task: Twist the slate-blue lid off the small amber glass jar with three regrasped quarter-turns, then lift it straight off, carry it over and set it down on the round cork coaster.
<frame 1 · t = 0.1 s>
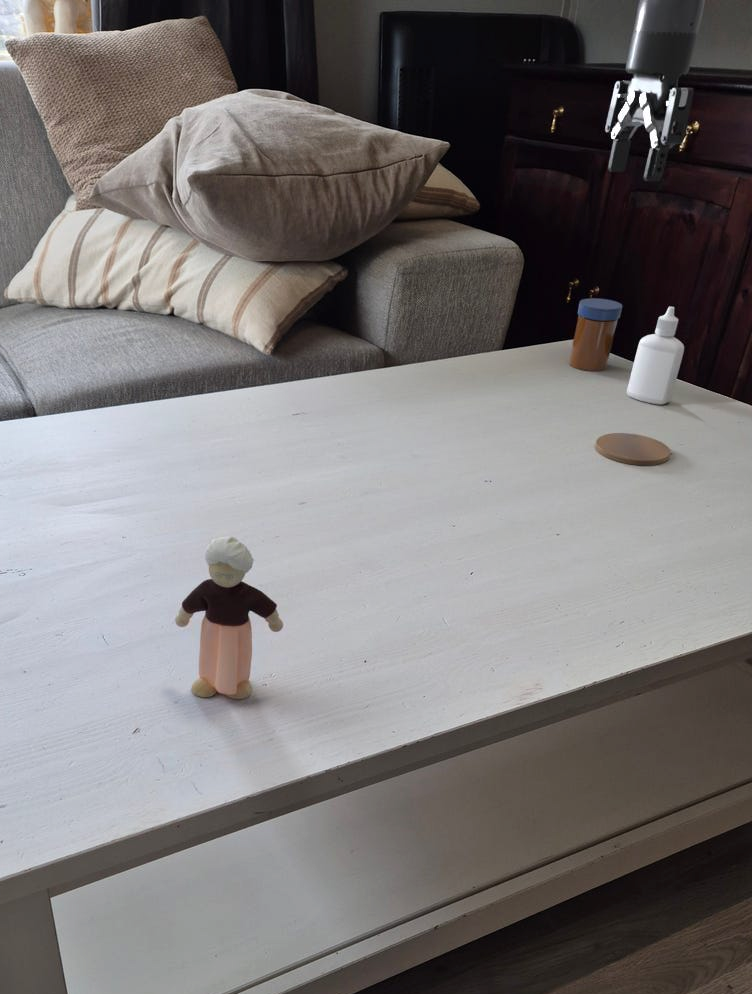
hand: (633, 176, 121), 25 cm above the table, tool pointing down, fingers open, 8 cm apart
eye dropper bottle: (647, 400, 124), on the table
jar: (587, 365, 135), on the table
coaster: (631, 451, 109), on the table
grandmother figurine: (229, 690, 69), on the table
lid: (600, 305, 131), point 8 cm above the table, screwed on, not yet turned
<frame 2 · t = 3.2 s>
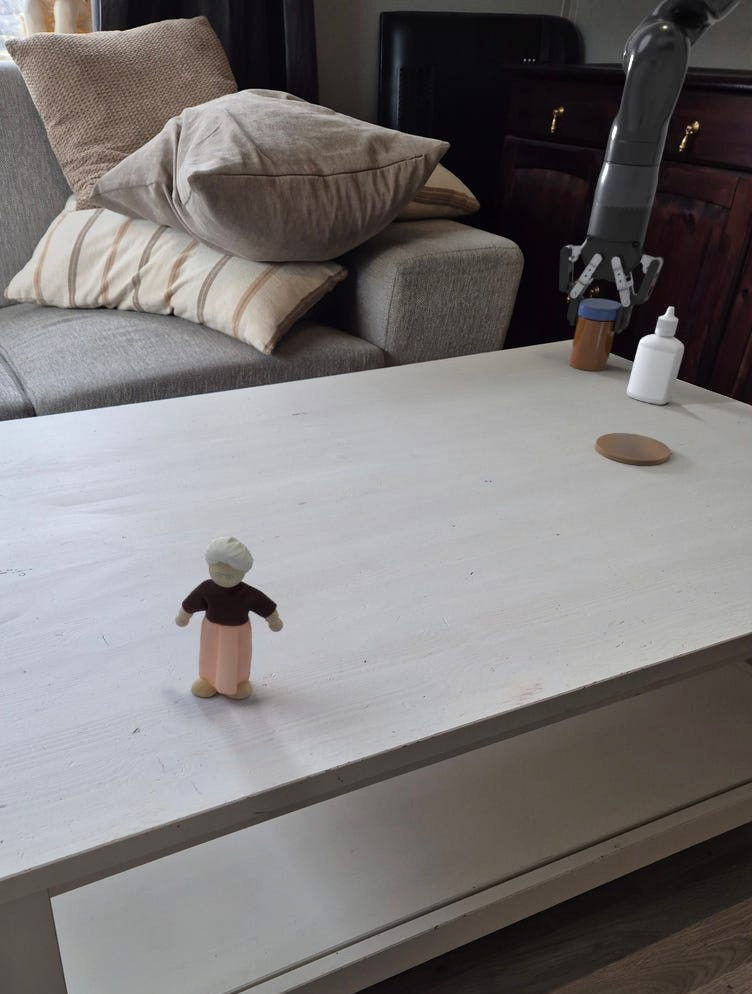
hand: (595, 327, 132), 5 cm above the table, tool pointing down, fingers closed on lid, 5 cm apart
lid: (600, 305, 131), point 8 cm above the table, screwed on, not yet turned, touching gripper
everything else where it was.
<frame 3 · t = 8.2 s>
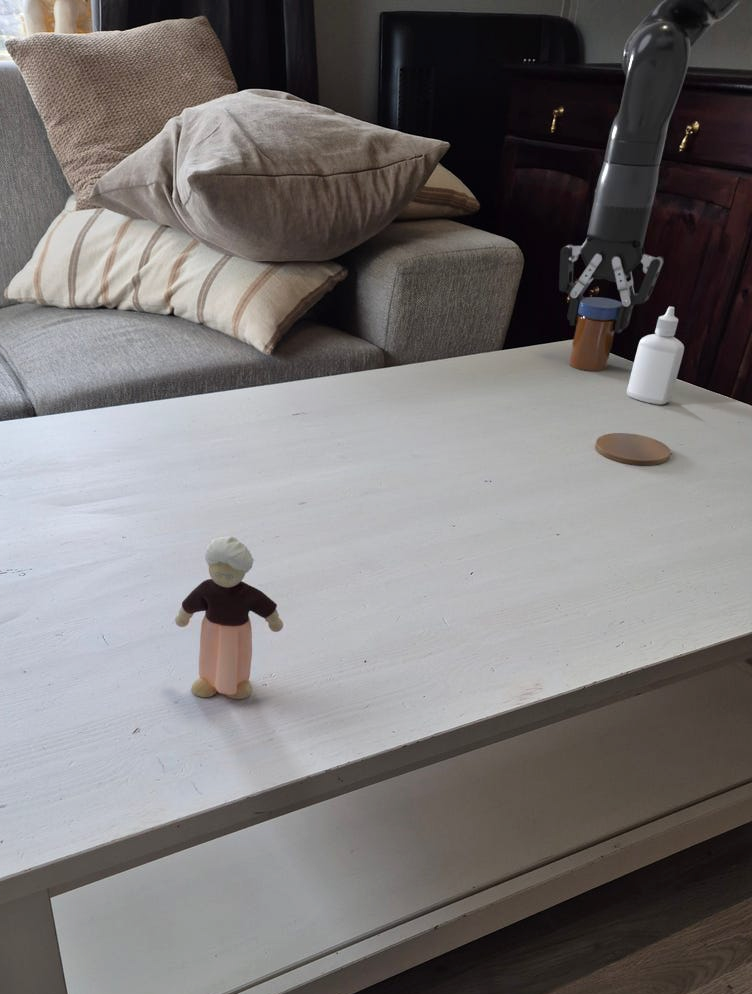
hand: (595, 327, 132), 5 cm above the table, tool pointing down, fingers closed on lid, 6 cm apart
lid: (600, 304, 131), point 9 cm above the table, turned 61° so far, risen 0.2 cm, still on its thread, touching gripper
everything else where it was.
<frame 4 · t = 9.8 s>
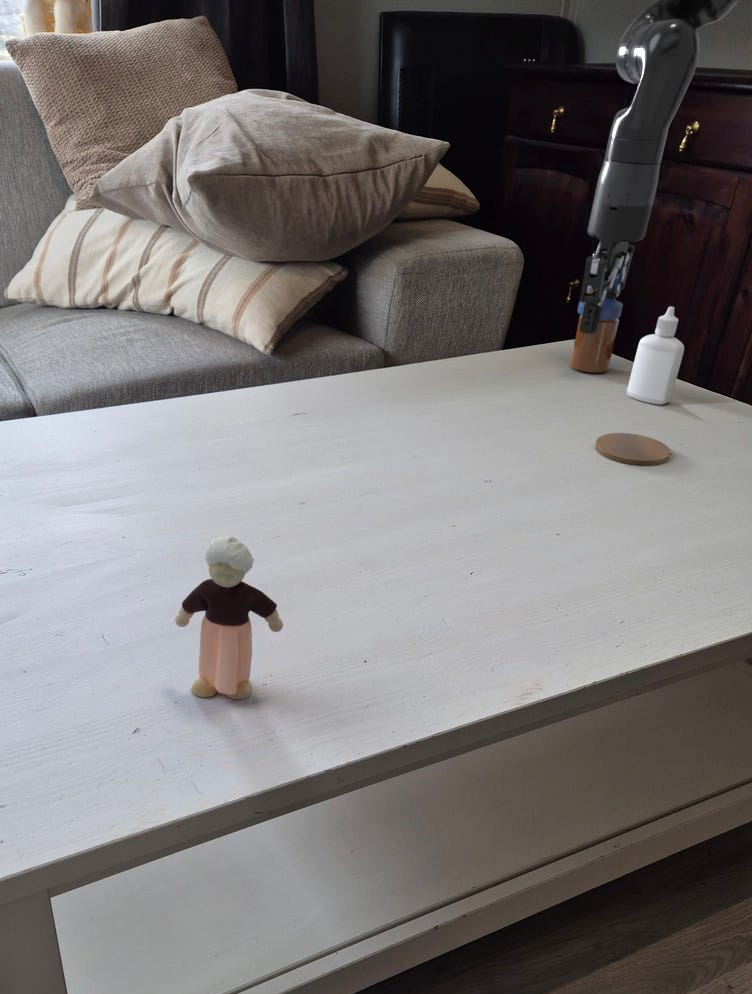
hand: (594, 327, 131), 6 cm above the table, tool pointing down, fingers closed on lid, 6 cm apart
jar: (589, 367, 134), on the table, touching gripper, lid
lid: (600, 304, 130), point 9 cm above the table, off its thread, touching gripper, jar
everything else where it was.
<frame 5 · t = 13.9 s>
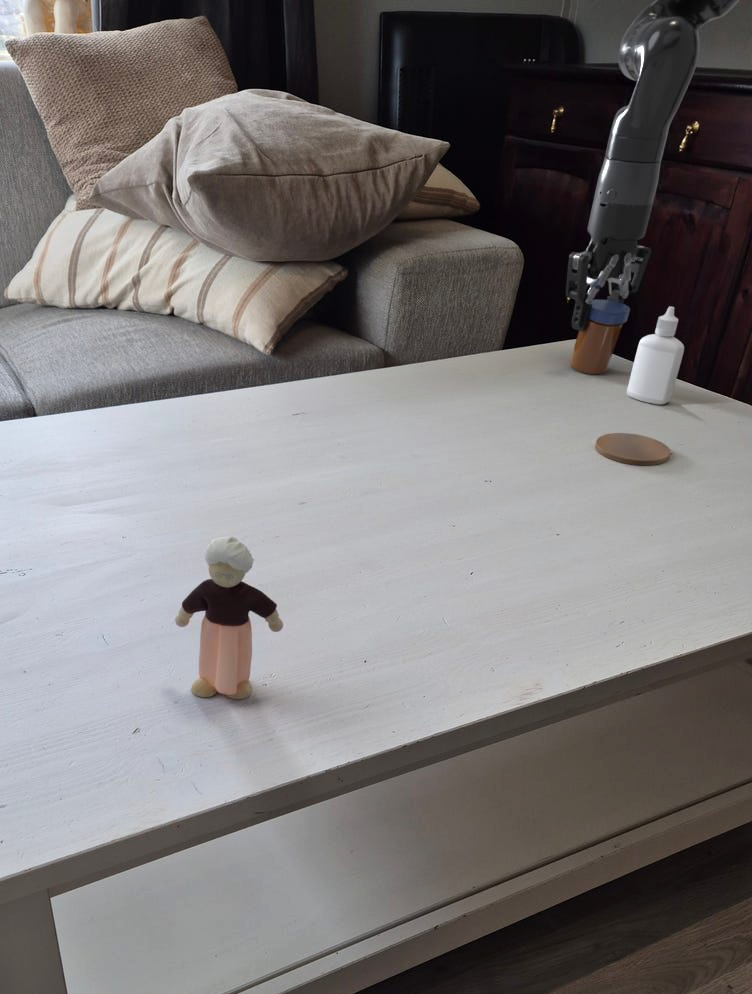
hand: (594, 326, 131), 6 cm above the table, tool pointing down, fingers closed on lid, 5 cm apart
jar: (587, 366, 134), on the table, tilted 7°
lid: (607, 308, 128), point 9 cm above the table, off its thread, touching gripper
everything else where it was.
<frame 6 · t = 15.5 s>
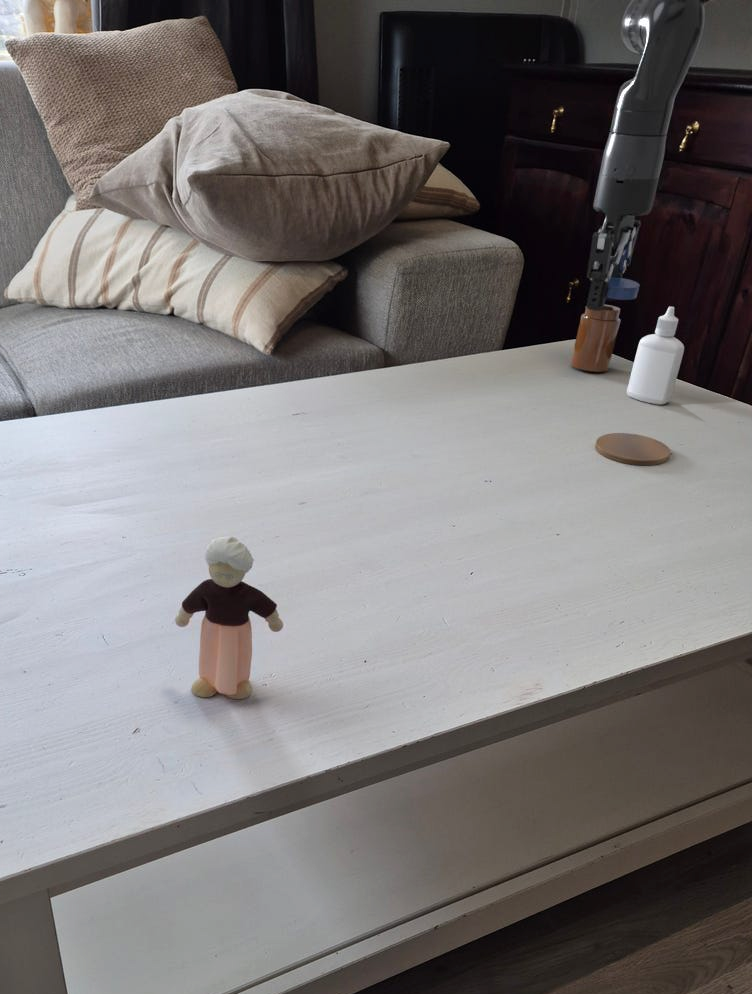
hand: (601, 304, 130), 9 cm above the table, tool pointing down, fingers closed on lid, 5 cm apart
jar: (589, 366, 134), on the table, touching gripper
lid: (617, 284, 128), point 12 cm above the table, off its thread, touching gripper
everything else where it was.
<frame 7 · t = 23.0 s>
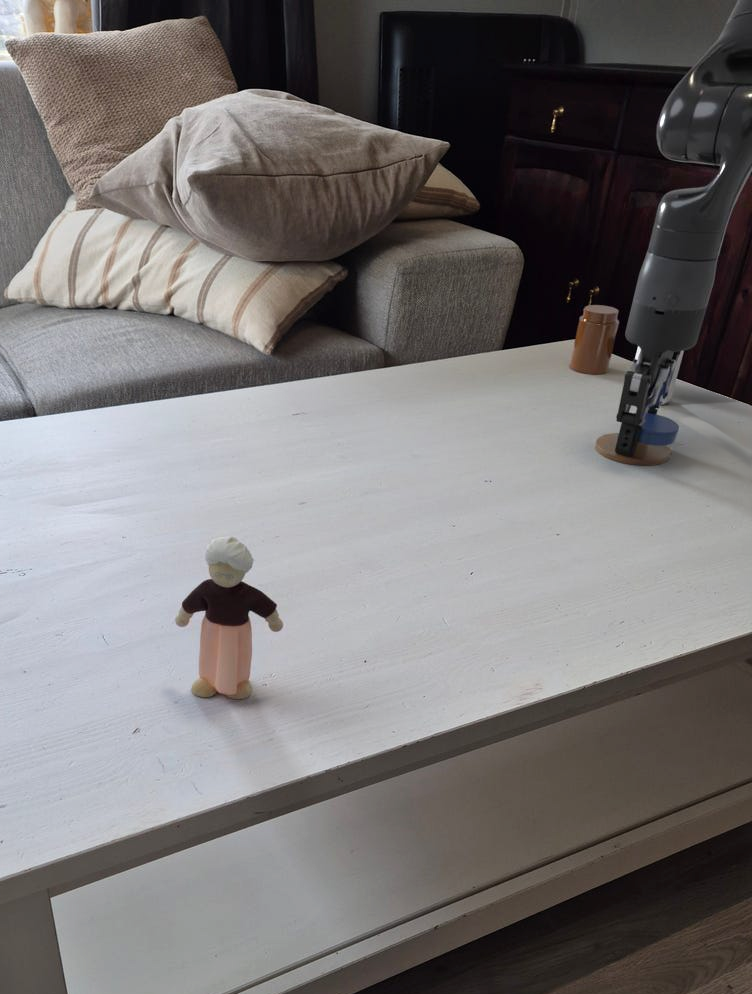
hand: (632, 445, 108), 1 cm above the table, tool pointing down, fingers closed on lid, 5 cm apart
jar: (588, 368, 134), on the table
lid: (651, 424, 106), point 4 cm above the table, off its thread, touching gripper
everything else where it was.
when the fingers open (2 cm above the table, at t = 30.9 s): lid drops 3 cm, resting on coaster.
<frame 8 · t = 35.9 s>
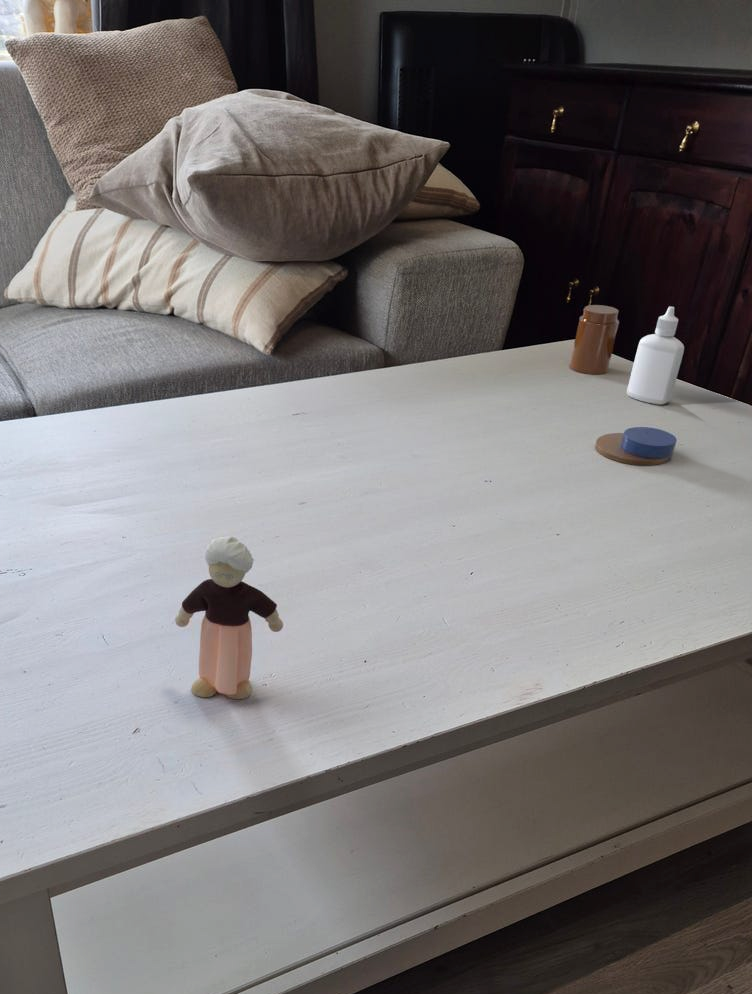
lid: (649, 438, 107), point 2 cm above the table, off its thread, touching coaster
everything else where it was.
at the end: lid 1.6 cm off-centre on the coaster, point 1.9 cm above the coaster's base; the gripper is holding nothing; jar inside the target area (1.5 cm from its centre), on the table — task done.
